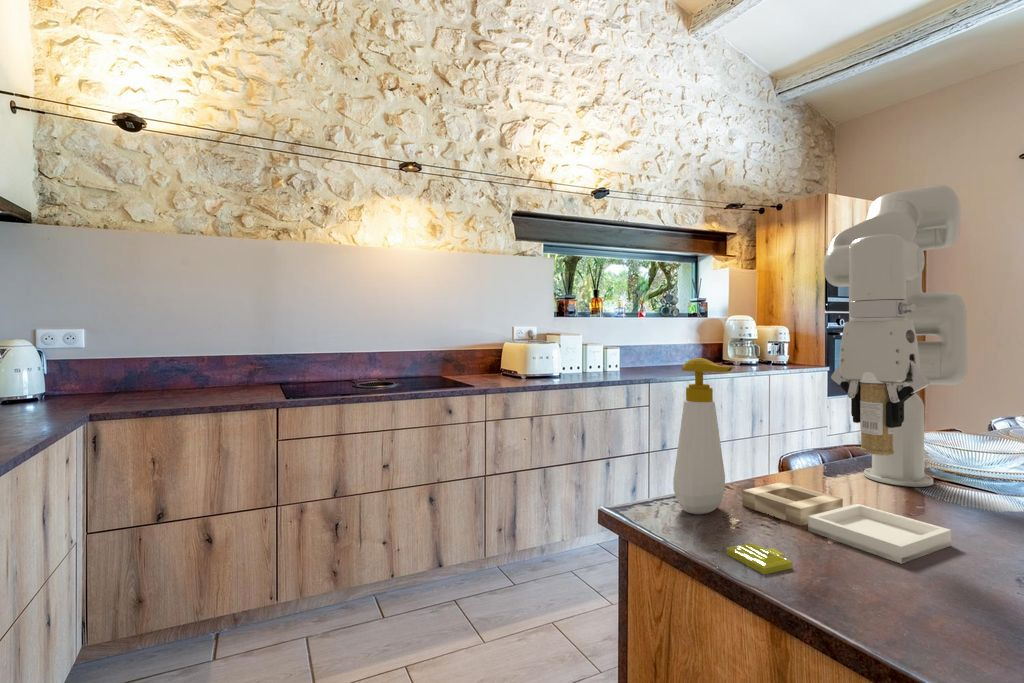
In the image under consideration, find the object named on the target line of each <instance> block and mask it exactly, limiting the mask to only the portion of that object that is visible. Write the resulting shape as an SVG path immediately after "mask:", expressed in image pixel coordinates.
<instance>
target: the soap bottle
mask: <svg viewBox="0 0 1024 683" xmlns="http://www.w3.org/2000/svg"><path fill="white" fill-rule="evenodd" d="M732 370H733V366H728V365H726V366H725V365H724V366H723V365H719V364H716V363H715V362H713V361H711V360H709V359H708V358H703V357H695V358H692V359H689V360H687V361H685V363H684V364H683V365H682V366H681V371H683V372H694V383H689V384H688V386H687V387H685V400H684V401H683V404H682V405H683V406H682V414H681V420H680V426H679V427H680V430H679V436H678V444H677V451H676V458H675V466H674V472H673V482H672V483H673V484H672V485H673V492H674V494H675V495H674V496H675V499H676V501H677V502H678V504H679V506H680V507H681V508H682V510H683V511H685V512H686V513H689V514H691V515H706V514H709V513H712V512H713V511H715V510H716V509H717V508H718V507H719V505H720V503H721V502H722V500H723V498H724V497H723V496H724V493H725V491H726V473H725V466H724V458H723V454H722V453H723V452H722V444H721V437H720V431H719V430H720V429H719V424H718V416H717V409H716V408H717V407H716V403H715V401H714V398H713V396H714V395H713V392H714V391H713V390H714V388H713V387H710V384H708V383H704V372H713V373H714V372H715V373H718V372H719V373H729V372H732Z"/></svg>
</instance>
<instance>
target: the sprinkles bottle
mask: <svg viewBox="0 0 1024 683" xmlns="http://www.w3.org/2000/svg"><path fill="white" fill-rule="evenodd" d="M859 382H861V383H860V385H861V392H860V393H861V400H860V423H859V424H860V425H859V426H860V427H859V428H860V430H859V431H860V448H859V449H860V451H861V452H863V453H865V454H868V455H872V454H874V455H892V454H893V453H894V450H893V428H889V427H887V426H886V403H887V402H890V398H889V393H888V389H887V385H886V383H882V382H880V381H877V379H876V377H875V375H874V374H873V373H870V372H865V373H863V375H862V378H861V380H860V381H859Z"/></svg>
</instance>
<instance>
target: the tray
mask: <svg viewBox="0 0 1024 683" xmlns="http://www.w3.org/2000/svg"><path fill="white" fill-rule="evenodd" d="M807 527H808V528H807V531H808V532H810V533H813V534H816V535H819V536H820V537H824V538H828V539H830V540H833V541H836V542H839V543H841V544H845V545H846V546H850V547H852V548H856V549H858V550H861V551H864V552H866V553H869V554H872V555H876V556H878V557H881V558H883V559H887V560H890V561H893V562H895V563H899V564H901V565H902V564H906V563H907V562H911V561H913V560H916V559H919V558H921V557H924V556H926V555H929V554H932V553H935V552H938V551H940V550H943V549H945V548H948V547H951V546H952V529H951V528H947V527H946V528H945V527H943V526H939V525H935V524H931V523H928V522H925V521H921V520H918V519H917V520H916V519H913V518H911V517H906V516H903V515H900V514H896V513H891V512H888V511H885V510H882V509H878V508H875V507H871V506H868V505H863V504H860V503H855V504H854V503H853V504H851V505H846V506H843V507H842V508H838V509H834V510H830V511H826V512H823V513H819V514H815V515H811V516H808V524H807Z"/></svg>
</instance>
